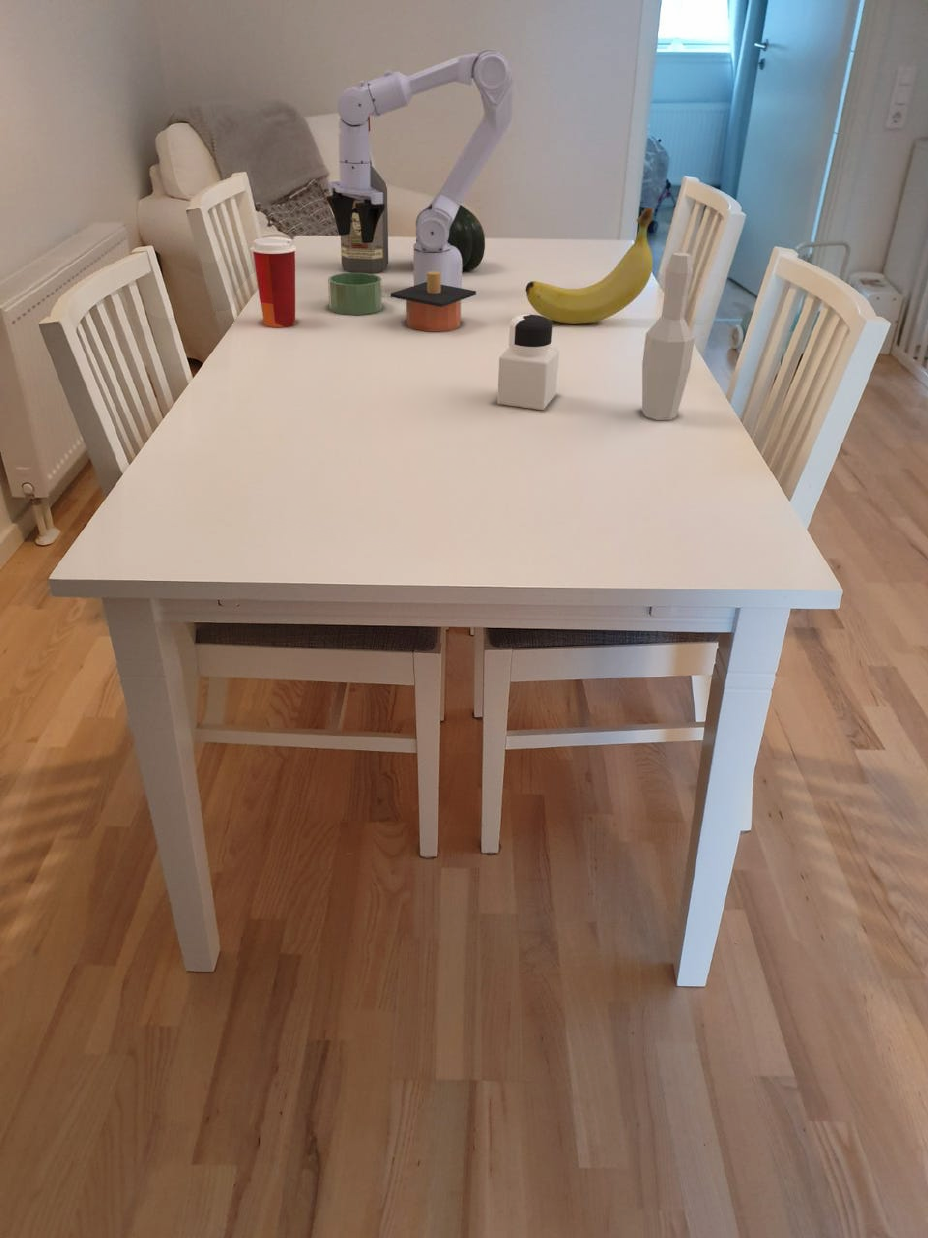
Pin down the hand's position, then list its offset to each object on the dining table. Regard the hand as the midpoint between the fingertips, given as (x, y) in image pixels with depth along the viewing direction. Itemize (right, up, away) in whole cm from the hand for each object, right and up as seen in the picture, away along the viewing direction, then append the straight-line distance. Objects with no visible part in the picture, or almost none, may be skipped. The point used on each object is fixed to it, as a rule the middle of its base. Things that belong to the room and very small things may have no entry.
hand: (355, 238), depth 185 cm
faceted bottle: (+49, -44, -47) cm, 81 cm away
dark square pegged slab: (+15, -16, -14) cm, 26 cm away
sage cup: (0, -14, -3) cm, 15 cm away
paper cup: (-12, -20, -13) cm, 27 cm away
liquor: (-1, +3, +24) cm, 24 cm away
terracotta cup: (+15, -20, -11) cm, 27 cm away
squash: (+18, +4, +26) cm, 32 cm away
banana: (+43, -19, -8) cm, 48 cm away
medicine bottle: (+30, -41, -44) cm, 67 cm away
